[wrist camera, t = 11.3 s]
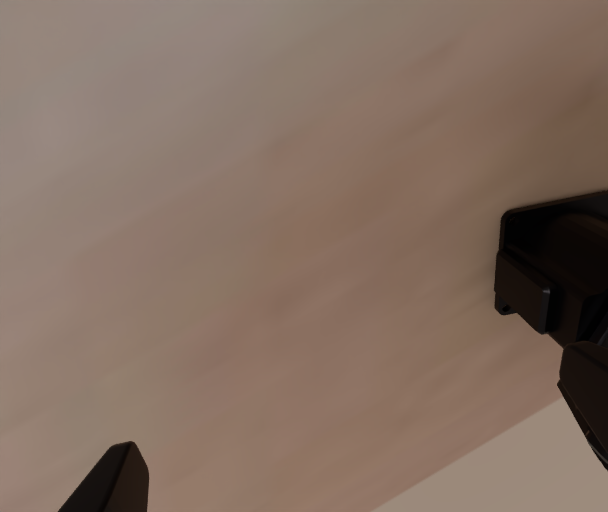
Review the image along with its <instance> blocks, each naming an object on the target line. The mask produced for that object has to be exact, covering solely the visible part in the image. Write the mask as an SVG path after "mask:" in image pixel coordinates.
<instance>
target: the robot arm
mask: <svg viewBox="0 0 608 512" xmlns="http://www.w3.org/2000/svg"><path fill="white" fill-rule="evenodd" d="M513 217H515V218H514V220H513V221H512V222H511V223H510V220H511V219H512V218H513ZM494 291H495V292H496V294H495V309H496V310H497V311H498V312H499V313H500V314H501V315H509V314H514V313H518V314H519V315H520V316H521V317H522V318H523V319H524V320H525V321H526V322H527V323H528V324H529V325H530V326H531V327H532V328H533V329H534V330H535V331H537V332H538V333H540V334H541V335H543V334H548V335H549V336H551V337H552V338H553V339H554V340H555V341H556V342H557V343H558V344H559V345H560V346H561V347H562V348H563V354H562V360H561V366H560V371H559V375H560V380H559V382H558V383H557V386H558V388H559V389H560V391H561V393H562V395H563V397H564V399H565V400H566V402H567V404H568V406H569V408H570V409H571V411H572V413H573V415H574V417H575V419H576V421H577V422H578V424H579V426H580V428H581V430H582V432H583V433H584V435H585V437H586V439H587V441H588V444H589V445H590V446H591V448H592V450H593V451H594V453H595V454H596V456H597V457H598V459H599V460H600V461H601V463H602V464H603V466H604V467H605V468H606V469H607V470H608V190H607V191H602V192H597V193H592V194H587V195H582V196H577V197H572V198H567V199H562V200H557V201H552V202H547V203H542V204H537V205H532V206H527V207H523V208H518V209H513V210H509V211H507V212H506V213H504V214H503V216H502V218H501V225H500V239H499V251H498V253H497V256H496V270H495V284H494ZM505 305H506V306H505ZM504 306H505V307H504ZM503 307H504V308H503ZM148 488H149V471H148V467H147V465H146V463H145V461H144V459H143V457H142V455H141V453H140V451H139V449H138V447H137V445H136V444H135V443H134V442H133V441H128V442H124V443H119V444H115V445H113V446H111V447H110V448H109V449H108V450H107V451H106V453H105V454H104V455H103V456H102V457H101V459H100V460H99V461H98V462H97V464H96V465H95V466H94V467H93V469H92V470H91V471H90V472H89V474H88V475H87V476H86V477H85V479H84V480H83V481H82V482H81V483H80V485H79V486H78V487H77V488H76V490H75V491H74V492H73V493H72V495H71V496H70V497H69V498H68V500H67V501H66V502H65V503H64V504H63V506H62V507H61V508H60V509H59V511H58V512H147V504H148Z"/></svg>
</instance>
